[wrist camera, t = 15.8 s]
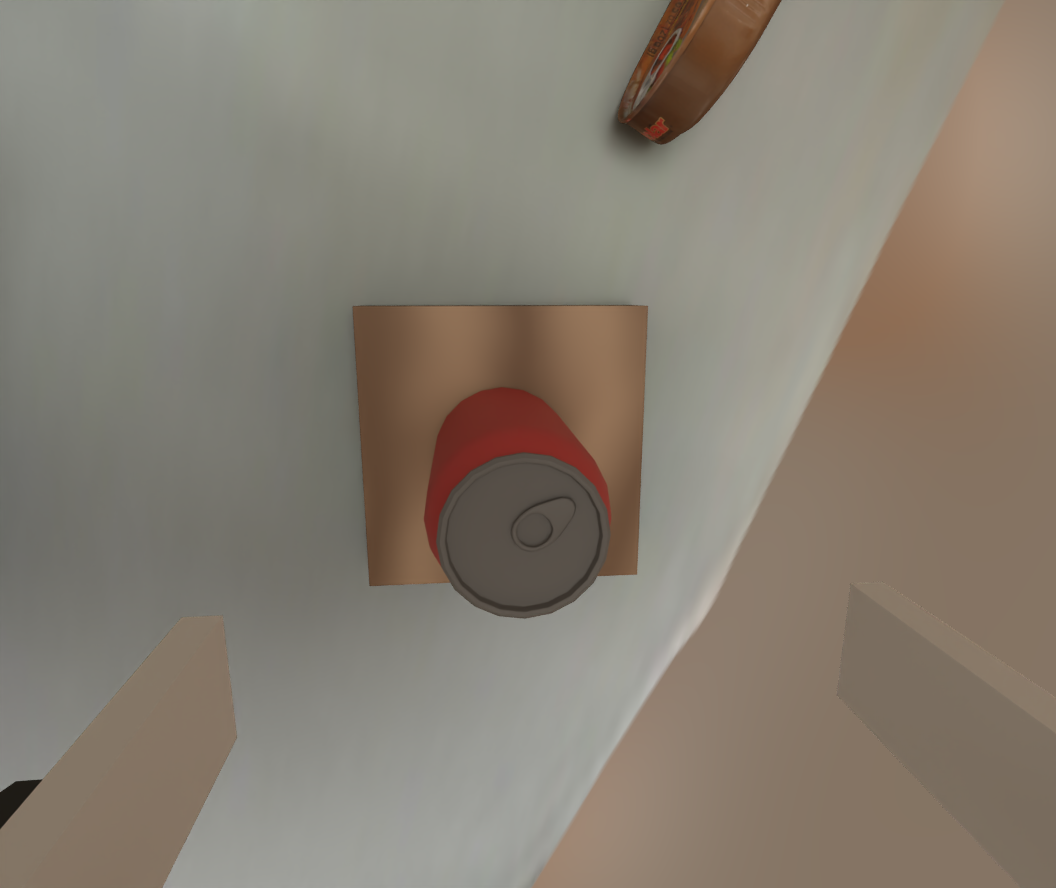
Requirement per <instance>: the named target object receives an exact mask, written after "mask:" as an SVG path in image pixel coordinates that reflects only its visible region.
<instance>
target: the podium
mask: <svg viewBox="0 0 1056 888" xmlns="http://www.w3.org/2000/svg"><path fill="white" fill-rule="evenodd" d="M647 315H648V306H638V305H482V306H353V320H354V337H355V353H356V370H357V386H358V403H359V419H360V436H361V452H362V469H363V485H364V502H365V518H366V535H367V551H368V568H369V584H370V586H381V585H404V584H427V583H450V581H449V579H448V578H447V576H446V574H445V573H444V571H443V569H442V568H441V566H440V564H439V563H438V561H437V559H436V558H435V556H434V554H433V553H432V551H431V549H430V546H429V542H428V537H427V532H426V528H425V523H424V513H425V505H426V497H427V490H428V484H429V479H430V473H431V468H432V462H433V457H434V451H435V446H436V441H437V435H438V433H439V431H440V429H441V427H442V425H443V423H444V421H445V419H446V417H447V416H448V415H449V413H450V412H451V411H452V410H453V409H454V408H455V407H456V406H457V405H458V404H459V403H460V402H461V401H463V400H464V399H466V398H468V397H470V396H472V395H474V394H476V393H478V392H480V391H483V390H489V389H494V388H500V387H504V388H511V389H519V390H524V391H526V392H528V393H530V394H532V395H534V396H536V397H538V398H540V399H542V400H543V401H544V402H545V403H546V404H547V405H548V406H549V407H551V408H552V409H553V410H554V411H555V412H556V413H557V414H558V416H559V417H560V418H561V419H562V421H563V422H564V423H565V424H566V425H567V427H568V428H569V429H570V430H571V432H572V433H573V434H574V435H575V437H576V438H577V439H578V440H579V441H580V443H581V444H582V445H583V446H584V448H585V449H586V450H587V451H588V452H589V454H590V455H591V456H592V457H593V459H594V460H595V462H596V464H597V466H598V468H599V470H600V472H601V474H602V476H603V478H604V479H605V481H606V483H607V487H608V494H609V501H610V508H611V524H610V533H611V536H610V541H609V547H608V552H607V557H606V561H605V563H604V564H603V566H602V568H601V570H600V572H599V574H598V575H597V576H611V575H634V574H637V562H638V538H639V513H640V488H641V463H642V439H643V414H644V389H645V364H646V340H647Z"/></svg>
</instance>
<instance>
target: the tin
mask: <svg viewBox="0 0 1056 888" xmlns="http://www.w3.org/2000/svg"><path fill="white" fill-rule="evenodd" d="M780 2H781V0H671V2H670V4H669V6H668V8H667V10H666V11H665V13H664V15H663V17H662V19H661V21H660V23H659V25H658V26H657V28H656V30H655V32H654V34H653V36H652V38H651V40H650V42H649V44H648V46H647V48H646V49H645V51H644V53H643V55H642V57H641V59H640V61H639V63H638V65H637V67H636V69H635V71H634V73H633V75H632V77H631V79H630V82H629V84H628V86H627V88H626V91H625V93H624V96H623V98H622V101H621V104H620V106H619V111H618V120H619V122H621V123H626V124H628V125H629V126H631V127H632V128H634V129H635V130H637V131H638V132H640V133H641V134H642V135H644V136H645V137H647V138H648V139H650V140H651V141H653V142H655V143H657V144H666V143H668V142H670V141H672V140H673V139H675V138H676V137H678V136H679V135H680V134H682V133H684V132H685V131H687V130H689V129H690V128H692V127H693V126H694V125H695V124H696V123H698V122H699V121H700V120H701V119H702V117H703V116H704V115H705V114H706V113H707V112H708V111H709V110H710V108H711V107H712V106H713V105H714V103H715V102H716V101H717V100H718V99H719V97H720V96H721V95H722V94H723V92H724V91H725V90H726V88H727V87H728V86H729V84H730V83H731V82H732V80H733V79H734V77H735V76H736V75H737V73H738V72H739V70H740V69H741V67H742V66H743V64H744V63H745V61H746V60H747V58H748V56H749V55H750V53H751V52H752V50H753V49H754V47H755V46H756V44H757V42H758V40H759V39H760V37H761V35H762V34H763V32H764V30H765V29H766V27H767V25H768V23H769V21H770V20H771V18H772V16H773V14H774V12H775V11H776V9H777V7H778V5H779V4H780Z"/></svg>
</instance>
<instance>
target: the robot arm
mask: <svg viewBox="0 0 1056 888" xmlns="http://www.w3.org/2000/svg"><path fill="white" fill-rule="evenodd" d="M837 696H838V697H839V698H840V699H841V700H842V701H843V702H844V703H845V704H846V705H847V706H848V708H849V709H850V710H851V711H852V712H853V713H854V714H855V715H856V716H857V717H858V718H859V719H860V720H861V721H862V722H863V723H864V724H865V725H866V727H867V728H868V729H869V730H870V731H871V732H872V733H873V734H874V735H875V736H876V737H877V738H878V739H879V740H880V741H881V742H882V743H883V744H884V745H885V746H886V748H887V749H888V750H889V751H890V752H891V753H892V754H893V755H894V756H895V757H896V758H897V759H898V760H899V761H900V762H901V763H902V764H903V765H904V766H905V768H906V769H908V771H909V772H910V773H911V774H912V775H913V776H914V777H915V778H916V779H917V780H918V781H919V782H920V783H921V784H922V785H923V786H924V787H925V788H926V790H927V791H928V792H929V793H930V794H931V795H932V796H933V797H934V798H935V799H936V800H937V801H938V802H939V803H940V804H941V805H942V806H943V807H944V808H945V810H946V811H948V813H949V814H950V815H951V816H952V817H953V818H954V819H955V820H956V821H957V822H958V823H959V824H960V825H961V826H962V827H963V828H964V830H965V831H966V832H967V833H968V834H969V835H970V836H971V837H972V838H973V839H974V840H975V841H976V842H977V843H978V844H979V845H980V846H981V847H982V848H983V849H984V850H985V852H986V853H987V854H988V855H989V856H990V857H991V858H992V859H993V860H994V861H995V862H996V863H997V864H998V865H999V866H1000V867H1001V868H1002V869H1003V870H1004V871H1005V872H1006V874H1007V875H1008V876H1009V877H1010V878H1011V879H1012V880H1013V881H1014V882H1015V883H1016V884H1017V885H1018V886H1019V887H1020V888H1056V697H1054V696H1053V695H1051V694H1050V693H1049V692H1047V691H1046V690H1044V689H1043V688H1041V687H1039V686H1038V685H1037V684H1035V683H1033V682H1032V681H1031V680H1029V679H1028V678H1026V677H1025V676H1023V675H1022V674H1020V673H1019V672H1017V671H1016V670H1014V669H1012V668H1011V667H1010V666H1008V665H1007V664H1005V663H1004V662H1002V661H1001V660H999V659H998V658H996V657H995V656H993V655H992V654H990V653H989V652H987V651H986V650H984V649H983V648H981V647H980V646H978V645H977V644H975V643H974V642H972V641H971V640H969V639H968V638H966V637H965V636H963V635H962V634H960V633H959V632H957V631H956V630H954V629H953V628H951V627H950V626H949V625H947V624H946V623H944V622H942V621H941V620H940V619H938V618H936V617H935V616H933V615H932V614H931V613H929V612H928V611H926V610H925V609H923V608H922V607H920V606H919V605H917V604H916V603H914V602H913V601H911V600H910V599H908V598H907V597H905V596H904V595H902V594H901V593H899V592H898V591H896V590H895V589H893V588H892V587H890V586H889V585H887V584H886V583H884V582H869V583H851V584H850V592H849V600H848V607H847V616H846V625H845V632H844V640H843V648H842V657H841V665H840V673H839V681H838V690H837ZM236 738H237V733H236V725H235V716H234V708H233V700H232V691H231V683H230V674H229V666H228V658H227V649H226V641H225V632H224V624H223V616H222V615H220V616H201V617H182V618H181V619H180V620H179V621H178V622H177V623H176V625H175V626H174V627H173V628H172V629H171V630H170V632H169V633H168V634H167V635H166V636H165V637H164V639H163V640H162V641H161V642H160V643H159V644H158V646H157V647H156V648H155V649H154V650H153V651H152V653H151V654H150V655H149V656H148V657H147V658H146V660H145V661H144V662H143V663H142V664H141V665H140V667H139V668H138V669H137V670H136V671H135V672H134V674H133V675H132V676H131V677H130V678H129V679H128V681H127V682H126V683H125V684H124V685H123V686H122V688H121V689H120V690H119V691H118V692H117V693H116V695H115V696H114V697H113V698H112V699H111V700H110V702H109V703H108V704H107V705H106V706H105V707H104V709H103V710H102V711H101V712H100V713H99V714H98V716H97V717H96V718H95V719H94V720H93V721H92V723H91V724H90V725H89V726H88V727H87V729H86V730H85V731H84V732H83V733H82V734H81V736H80V737H79V738H78V739H77V740H76V741H75V743H74V744H73V745H72V746H71V747H70V748H69V750H68V751H67V752H66V753H65V754H64V755H63V757H62V758H61V759H60V760H59V761H58V762H57V764H56V765H55V766H54V767H53V768H52V769H51V771H50V772H49V773H48V774H47V775H46V776H45V778H44V779H42V780H28V781H16V782H14V783H13V784H12V785H10V786H9V787H7V788H6V789H4V790H3V791H1V792H0V888H162V887H163V885H164V883H165V881H166V879H167V877H168V875H169V873H170V871H171V869H172V867H173V865H174V863H175V861H176V859H177V857H178V855H179V853H180V851H181V849H182V847H183V845H184V843H185V841H186V839H187V837H188V835H189V833H190V831H191V829H192V827H193V825H194V823H195V821H196V819H197V817H198V815H199V813H200V811H201V809H202V807H203V805H204V803H205V801H206V799H207V797H208V795H209V793H210V791H211V789H212V787H213V785H214V783H215V781H216V779H217V777H218V775H219V773H220V771H221V769H222V767H223V764H224V762H225V760H226V758H227V756H228V754H229V752H230V750H231V748H232V746H233V744H234V742H235V740H236Z"/></svg>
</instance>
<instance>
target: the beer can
mask: <svg viewBox="0 0 1056 888" xmlns="http://www.w3.org/2000/svg"><path fill="white" fill-rule="evenodd" d="M424 523H425V528H426V532H427V537H428V542H429V546H430V549H431V551H432V553H433V554H434V556H435V558H436V559H437V561H438V563H439V564H440V566H441V568H442V569H443V571H444V573H445V574H446V576H447V578H448V579H449V581H450V583H451V584H452V586H453V587H454V589H455V590H456V591H457V592H458V593H459V594H461V595H462V596H463V597H464V598H465V599H467V600H468V601H469V602H470V603H471V604H473V605H474V606H475V607H478V608H480V609H483V610H485V611H487V612H490V613H492V614H495V615H497V616H503V617H514V618H530V617H535V616H540V615H545V614H550V613H553V612H555V611H557V610H558V609H560V608H562V607H564V606H566V605H568V604H570V603H572V602H574V601H575V600H576V599H577V598H578V597H579V596H580V595H581V594H582V593H583V592H584V591H586V590H587V589H588V588H589V587H590V586H591V585H592V584H593V583H594V581H595V579H596V577H597V575H598V574H599V572H600V570H601V568H602V566H603V564H604V563H605V561H606V557H607V552H608V547H609V541H610V536H611V533H610V524H611V508H610V501H609V494H608V487H607V483H606V481H605V479H604V478H603V476H602V474H601V472H600V470H599V468H598V466H597V464H596V462H595V460H594V459H593V457H592V456H591V455H590V454H589V452H588V451H587V450H586V449H585V448H584V446H583V445H582V444H581V443H580V441H579V440H578V439H577V438H576V437H575V435H574V434H573V433H572V432H571V430H570V429H569V428H568V427H567V425H566V424H565V423H564V422H563V421H562V419H561V418H560V417H559V416H558V414H557V413H556V412H555V411H554V410H553V409H552V408H551V407H549V406H548V405H547V404H546V403H545V402H544V401H543V400H542V399H540V398H538V397H536V396H534V395H532V394H530V393H528V392H526V391H524V390H519V389H511V388H504V387H500V388H494V389H489V390H483V391H480V392H478V393H476V394H474V395H472V396H470V397H468V398H466V399H464V400H463V401H461V402H460V403H459V404H458V405H457V406H456V407H455V408H454V409H453V410H452V411H451V412H450V413H449V415H448V416H447V417H446V419H445V421H444V423H443V425H442V427H441V429H440V431H439V433H438V435H437V441H436V446H435V451H434V457H433V462H432V468H431V473H430V479H429V484H428V490H427V497H426V505H425V513H424Z"/></svg>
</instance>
